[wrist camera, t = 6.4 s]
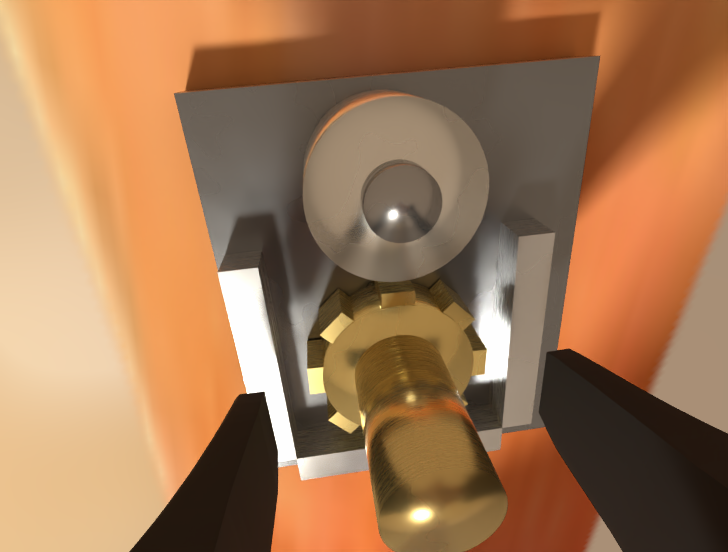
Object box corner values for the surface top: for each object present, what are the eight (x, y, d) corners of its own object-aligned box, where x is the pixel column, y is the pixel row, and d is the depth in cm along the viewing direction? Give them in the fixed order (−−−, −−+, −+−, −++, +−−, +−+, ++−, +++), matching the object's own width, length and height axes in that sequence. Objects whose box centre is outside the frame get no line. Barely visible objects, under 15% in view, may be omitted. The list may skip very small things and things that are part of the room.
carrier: (533, 408, 17) (594, 500, 14) (269, 447, 17) (259, 555, 13) (578, 56, 12) (700, 54, 8) (184, 91, 11) (124, 104, 7)
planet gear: (464, 397, 15) (550, 575, 10) (315, 414, 15) (322, 612, 10) (475, 261, 13) (594, 399, 8) (299, 277, 13) (296, 436, 7)
